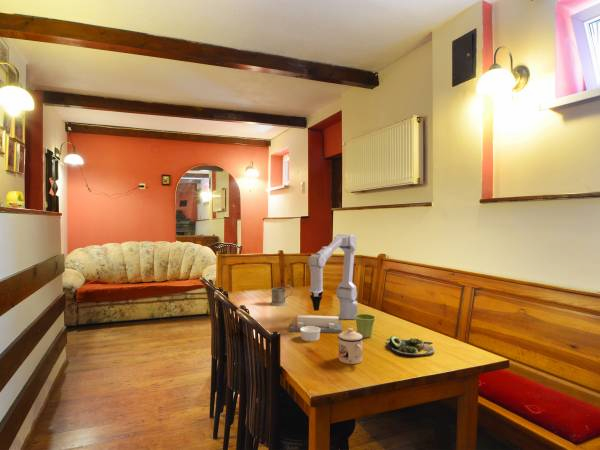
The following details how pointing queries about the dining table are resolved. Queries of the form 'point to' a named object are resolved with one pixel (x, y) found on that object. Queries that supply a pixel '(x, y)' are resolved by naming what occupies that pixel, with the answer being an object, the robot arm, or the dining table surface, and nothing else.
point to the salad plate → (409, 346)
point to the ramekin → (310, 333)
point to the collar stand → (322, 329)
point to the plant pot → (364, 324)
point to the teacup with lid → (350, 347)
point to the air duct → (316, 320)
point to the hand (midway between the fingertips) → (316, 308)
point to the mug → (279, 296)
